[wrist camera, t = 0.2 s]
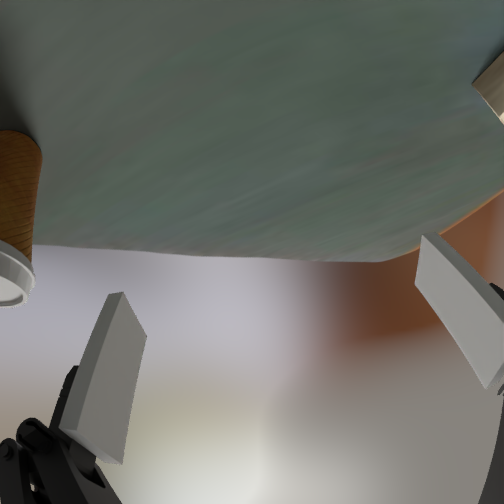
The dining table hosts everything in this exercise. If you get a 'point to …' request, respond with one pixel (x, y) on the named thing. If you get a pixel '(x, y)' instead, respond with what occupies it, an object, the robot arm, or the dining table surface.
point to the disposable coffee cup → (17, 215)
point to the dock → (493, 86)
